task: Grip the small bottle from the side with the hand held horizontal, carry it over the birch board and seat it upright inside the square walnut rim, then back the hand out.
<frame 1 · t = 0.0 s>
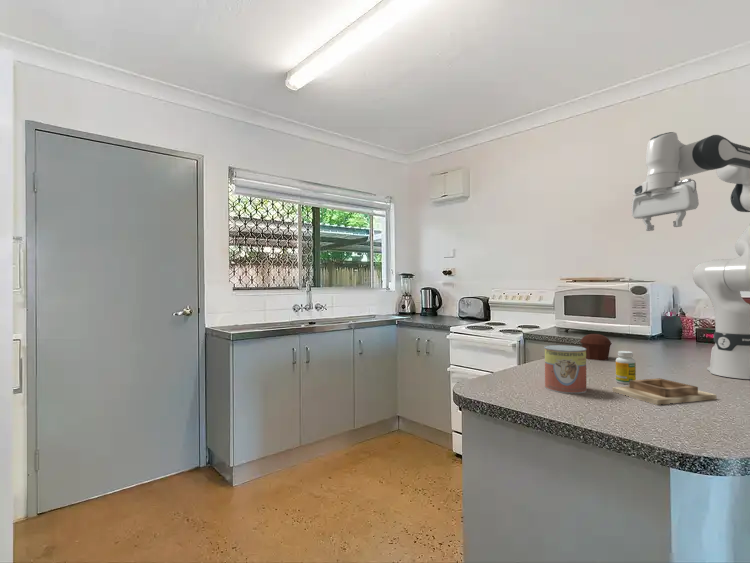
hand: (663, 228, 134), 48 cm above the worktop, tool pointing down, fingers open, 8 cm apart
wooden tray: (662, 395, 116), on the worktop
muffin: (595, 358, 176), on the worktop
canned food: (565, 389, 124), on the worktop
supplement bottle: (625, 383, 131), on the worktop
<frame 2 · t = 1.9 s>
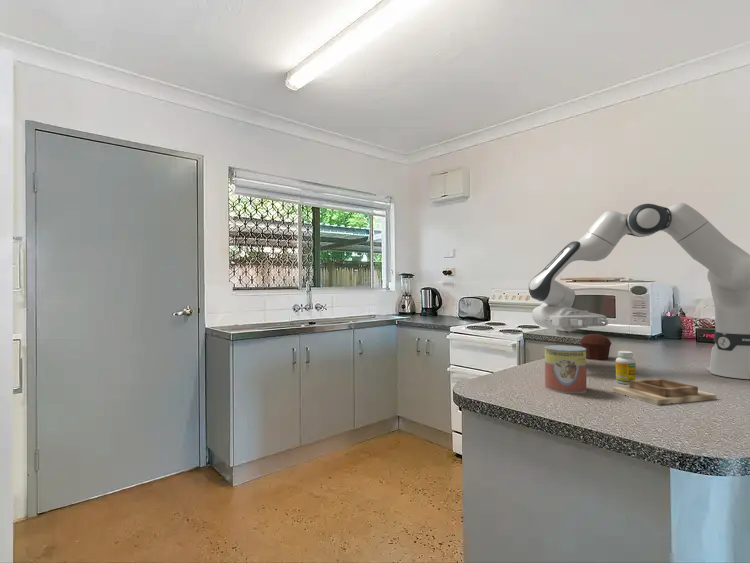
hand: (595, 322, 143), 18 cm above the worktop, tool horizontal, fingers open, 8 cm apart
nothing on the worktop moved.
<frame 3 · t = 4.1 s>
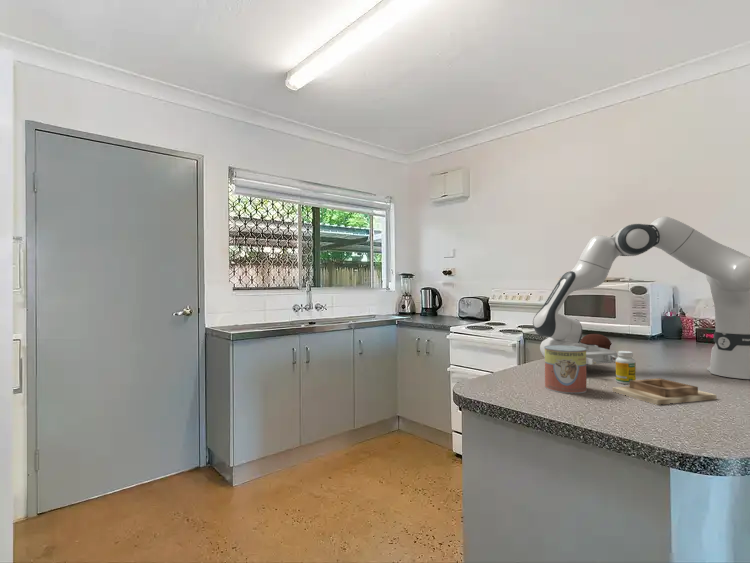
hand: (605, 361, 139), 5 cm above the worktop, tool horizontal, fingers open, 8 cm apart
nothing on the worktop moved.
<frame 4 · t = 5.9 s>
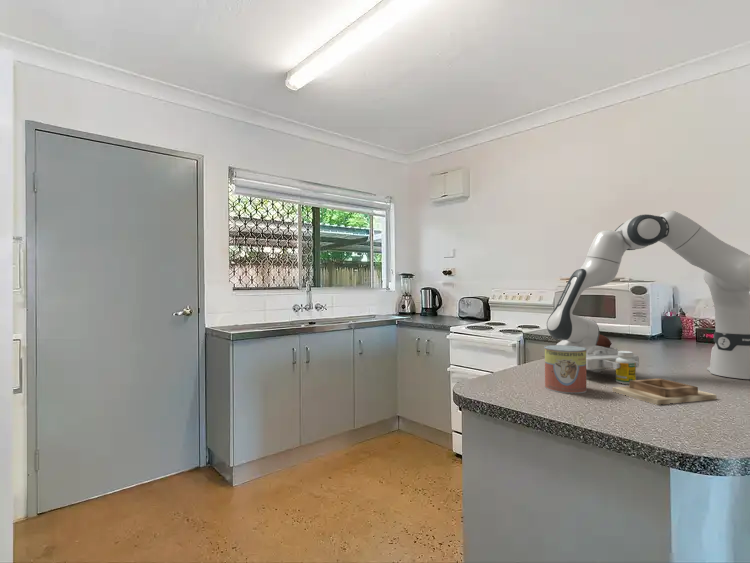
hand: (627, 365, 131), 6 cm above the worktop, tool horizontal, fingers closed on supplement bottle, 5 cm apart
supplement bottle: (625, 383, 131), on the worktop, touching gripper
everything else where it was.
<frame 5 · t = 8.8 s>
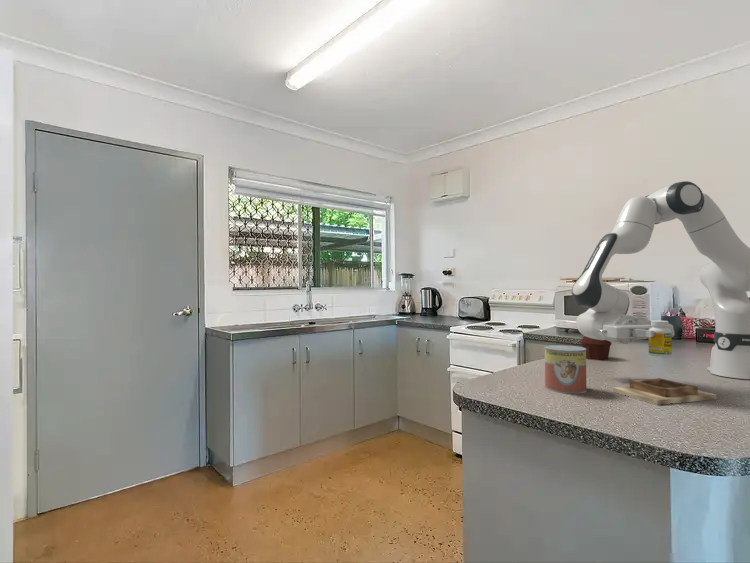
hand: (662, 333, 116), 17 cm above the worktop, tool horizontal, fingers closed on supplement bottle, 5 cm apart
supplement bottle: (660, 356, 117), point 11 cm above the worktop, touching gripper
everything else where it was.
when the fingers open (8 cm above the worktop, at t = 11.4 s): supplement bottle stays where it is, resting on wooden tray.
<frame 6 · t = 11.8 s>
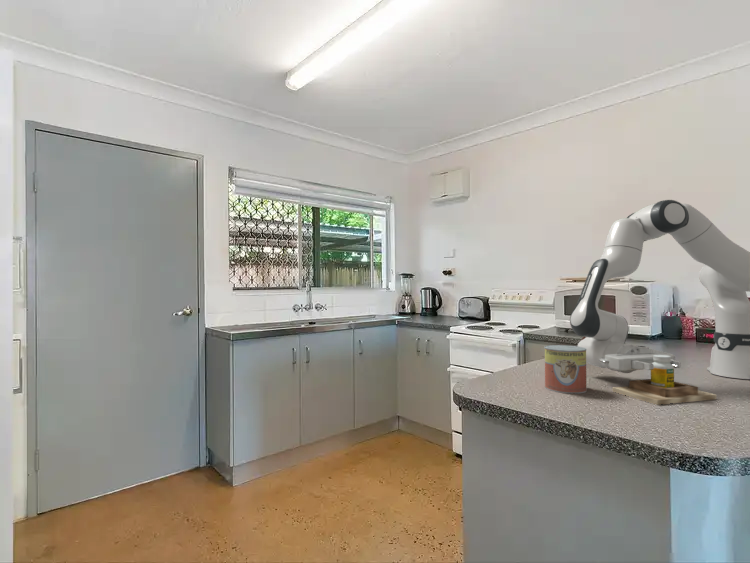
hand: (665, 366, 115), 8 cm above the worktop, tool horizontal, fingers open, 8 cm apart
supplement bottle: (662, 391, 116), point 1 cm above the worktop, touching wooden tray
everything else where it was.
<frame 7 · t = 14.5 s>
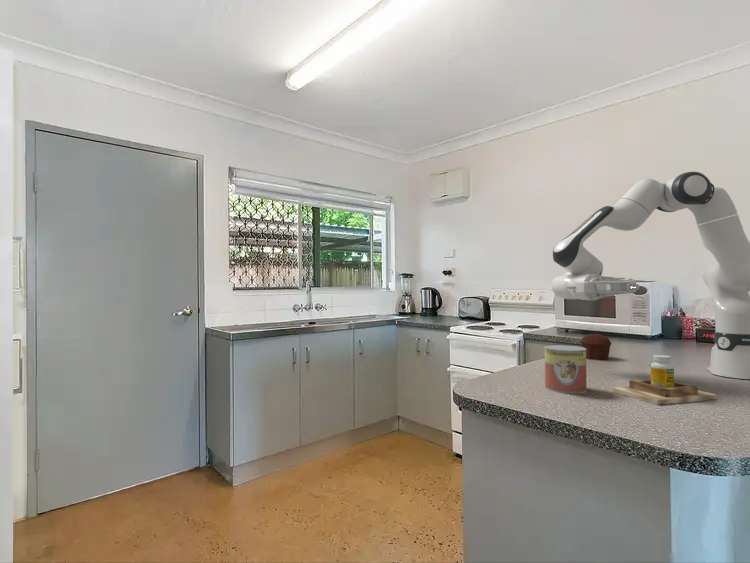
hand: (625, 287, 128), 30 cm above the worktop, tool horizontal, fingers open, 8 cm apart
nothing on the worktop moved.
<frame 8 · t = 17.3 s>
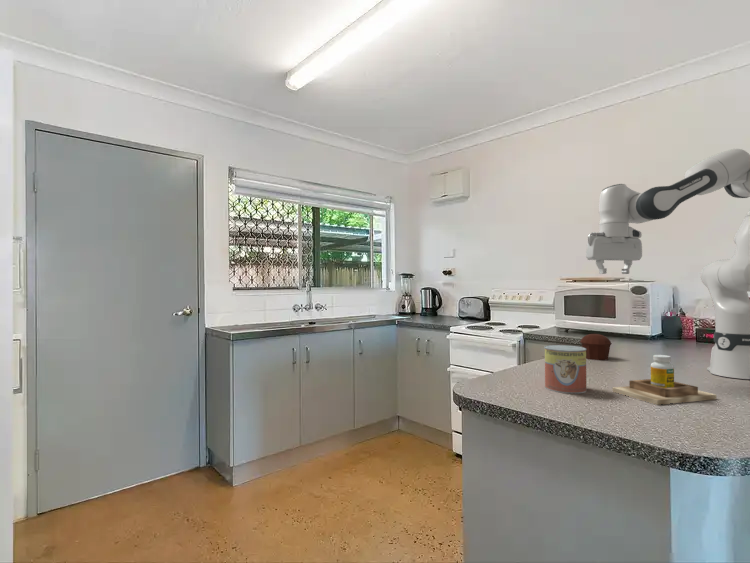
hand: (614, 273, 143), 34 cm above the worktop, tool pointing down, fingers open, 8 cm apart
nothing on the worktop moved.
at the end: supplement bottle inside the target area on the wooden tray (0.1 cm from its centre), point 1.0 cm above the wooden tray's base; supplement bottle tilted 0°; the gripper is holding nothing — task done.
